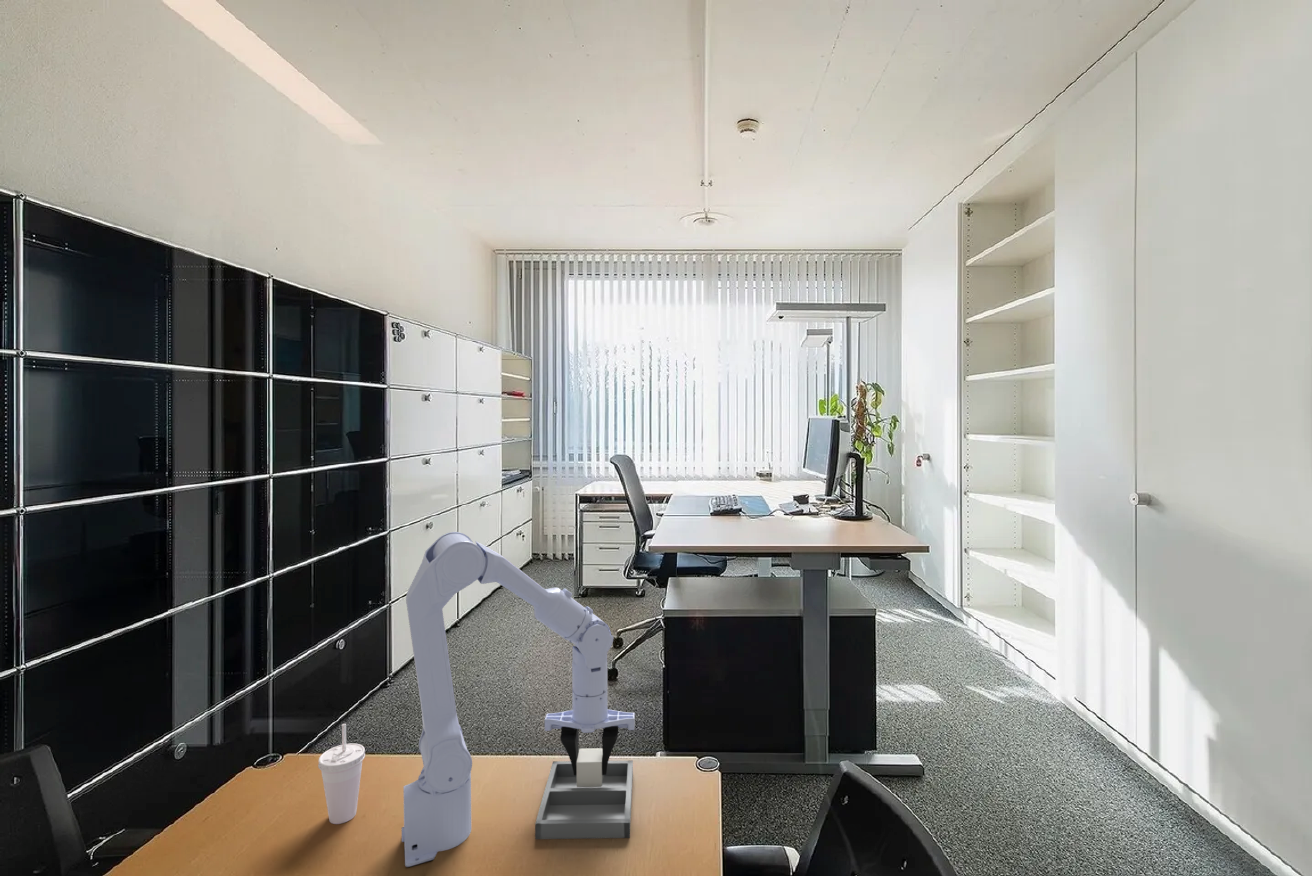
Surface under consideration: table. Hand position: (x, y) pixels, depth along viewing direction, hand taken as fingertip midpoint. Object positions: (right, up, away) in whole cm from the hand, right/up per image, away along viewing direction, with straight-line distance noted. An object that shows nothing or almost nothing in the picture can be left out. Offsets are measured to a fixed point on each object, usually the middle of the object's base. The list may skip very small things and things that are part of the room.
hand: (590, 771), depth 95 cm
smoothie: (-38, -4, -5) cm, 38 cm away
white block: (0, -1, 0) cm, 1 cm away
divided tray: (0, -4, -4) cm, 5 cm away
